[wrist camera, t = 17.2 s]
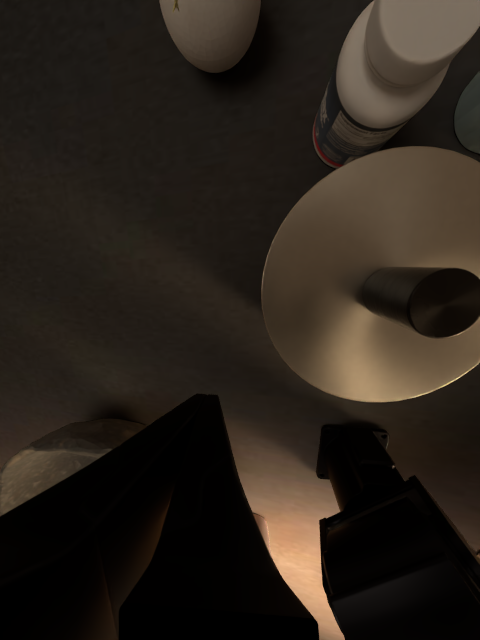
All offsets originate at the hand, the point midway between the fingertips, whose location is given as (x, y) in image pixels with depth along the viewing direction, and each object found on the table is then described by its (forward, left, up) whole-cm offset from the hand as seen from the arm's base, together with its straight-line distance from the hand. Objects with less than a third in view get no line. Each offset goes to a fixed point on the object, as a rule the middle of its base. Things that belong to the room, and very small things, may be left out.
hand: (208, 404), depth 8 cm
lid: (+4, -8, -4) cm, 10 cm away
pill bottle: (+15, -8, -13) cm, 22 cm away
